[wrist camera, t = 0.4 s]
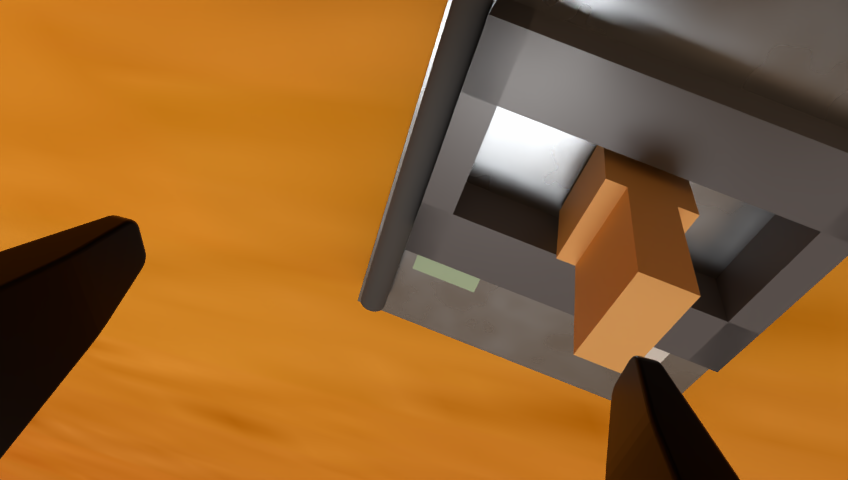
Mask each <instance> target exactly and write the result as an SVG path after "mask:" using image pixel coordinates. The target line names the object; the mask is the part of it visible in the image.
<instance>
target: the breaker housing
mask: <svg viewBox="0 0 848 480" xmlns="http://www.w3.org/2000/svg"><path fill="white" fill-rule="evenodd" d="M497 106H498V107H501V108H503V109H506V110H508V111H511V112H513V113H516V114H519V115H521V116H524V117H526V118H529V119H532V120H534V121H537V122H539V123H542V124H544V125H547V126H550V127H552V128H555V129H557V130H560V131H562V132H565V133H568V134H570V135H573V136H575V137H578V138H580V139H583V140H586V141H588V142H591V143H593V144H596V145H598V146H601V147H604V148H606V149H609V150H611V151H614V152H616V153H619V154H622V155H624V156H627V157H629V158H632V159H635V160H637V161H640V162H642V163H645V164H647V165H650V166H653V167H655V168H658V169H660V170H663V171H665V172H668V173H671V174H673V175H676V176H678V177H681V178H683V179H686V180H689V181H691V182H694V183H696V184H699V185H701V186H704V187H707V188H709V189H712V190H714V191H717V192H720V193H722V194H725V195H727V196H730V197H732V198H735V199H738V200H740V201H743V202H745V203H748V204H750V205H753V206H756V207H758V208H761V209H763V210H766V211H768V212H771V213H774V214H775V215H774V216H773V217H772V218H771V220H770V221H769V222H768V223H767V224H766V225H765V226H764V227H763V228H762V229H761V230H760V231H759V232H758V234H757V235H756V236H755V237H754V238H753V239H752V240H751V241H750V242H749V243H748V244H747V245H746V246H745V248H744V249H743V250H742V251H741V252H740V253H739V254H738V255H737V256H736V257H735V258H734V259H733V260H732V262H731V263H730V264H729V265H728V266H727V267H726V268H725V269H724V270H723V271H722V272H721V273H720V274H719V276H718V277H717V278H716V279H714V278H712V277H709V276H706V275H704V274H701V273H699V272H696V271H694V272H695V276H696V280H697V283H698V287H699V291H700V295H701V296H700V298H699V299H698V300H697V301H696V302H695V303H694V304H693V305H692V306H691V307H690V308H689V309H688V310H687V312H686V313H685V314H684V315H683V316H682V317H681V318H680V319H679V320H678V321H677V322H676V323H675V324H674V325H673V327H672V328H671V329H670V330H669V331H668V332H667V333H666V334H665V335H664V336H663V337H662V338H661V339H660V340H659V342H658V343H657V344H656V345H655V346H654V347H653V348H652V349H651V350H650V351H649V352H648V353H647V354H646V355H645V358H649V359H653V360H656V361H658V362H660V363H661V362H662V361H663V360H664V359H665V358H666V357H667V356H668V355H669V354H672V355H675V356H678V357H680V358H683V359H685V360H688V361H690V362H693V363H695V364H698V365H701V366H703V367H706V368H708V369H711V370H713V371H716V372H718V371H719V370H720V369H721V368H723V367H724V366H725V365H726V364H727V363H728V362H729V361H730V360H732V359H733V358H734V357H735V356H736V355H737V354H738V353H739V352H740V351H742V350H743V349H744V348H745V347H746V346H747V345H748V344H749V343H751V342H752V341H753V340H754V339H755V338H756V337H757V336H758V335H759V334H761V333H762V332H763V331H764V330H765V329H766V328H767V327H768V326H770V325H771V324H772V323H773V322H774V321H775V320H776V319H777V318H779V317H780V316H781V315H782V314H783V313H784V312H785V311H786V310H787V309H789V308H790V307H791V306H792V305H793V304H794V303H795V302H796V301H798V300H799V299H800V298H801V297H802V296H803V295H804V294H805V293H806V292H808V291H809V290H810V289H811V288H812V287H813V286H814V285H815V284H817V283H818V282H819V281H820V280H821V279H822V278H823V277H824V276H826V275H827V274H828V273H829V272H830V271H831V270H832V269H833V268H834V267H836V266H837V265H838V264H839V263H840V262H841V261H842V260H843V259H845V258H846V257H847V256H848V129H845V128H843V127H840V126H837V125H835V124H832V123H830V122H827V121H824V120H822V119H819V118H817V117H814V116H811V115H809V114H806V113H804V112H801V111H798V110H796V109H793V108H791V107H788V106H786V105H783V104H780V103H778V102H775V101H773V100H770V99H767V98H765V97H762V96H760V95H757V94H754V93H752V92H749V91H747V90H744V89H741V88H739V87H736V86H734V85H731V84H728V83H726V82H723V81H721V80H718V79H716V78H713V77H710V76H708V75H705V74H703V73H700V72H697V71H695V70H692V69H690V68H687V67H684V66H682V65H679V64H677V63H674V62H671V61H669V60H666V59H664V58H661V57H659V56H656V55H653V54H651V53H648V52H646V51H643V50H640V49H638V48H635V47H633V46H630V45H627V44H625V43H622V42H620V41H617V40H614V39H612V38H609V37H607V36H604V35H602V34H599V33H596V32H594V31H591V30H589V29H586V28H583V27H581V26H578V25H576V24H573V23H570V22H568V21H565V20H563V19H560V18H557V17H555V16H552V15H550V14H547V13H544V12H542V11H539V10H537V9H534V8H532V7H529V6H526V5H524V4H521V3H519V2H516V1H513V0H496V2H495V4H494V6H493V8H492V9H491V11H490V13H489V15H488V18H487V20H486V23H485V26H484V29H483V32H482V34H481V37H480V40H479V43H478V46H477V48H476V51H475V54H474V57H473V60H472V62H471V65H470V68H469V71H468V74H467V77H466V79H465V82H464V85H463V88H462V91H461V93H460V96H459V99H458V102H457V105H456V107H455V110H454V113H453V116H452V119H451V122H450V124H449V127H448V130H447V133H446V136H445V138H444V141H443V144H442V147H441V150H440V152H439V155H438V158H437V161H436V164H435V166H434V169H433V172H432V175H431V178H430V181H429V183H428V186H427V189H426V192H425V195H424V197H423V200H422V203H421V206H420V209H419V211H418V214H417V217H416V220H415V223H414V226H413V228H412V231H411V234H410V237H409V240H408V242H407V245H406V248H405V250H407V251H410V252H412V253H415V254H417V258H416V260H415V263H414V266H413V269H415V270H418V271H420V272H423V273H425V274H428V275H431V276H433V277H436V278H438V279H441V280H443V281H446V282H448V283H451V284H453V285H456V286H459V287H461V288H464V289H466V290H469V291H471V292H474V291H475V289H476V287H477V285H478V283H479V281H480V279H481V280H484V281H486V282H489V283H491V284H494V285H497V286H499V287H502V288H504V289H507V290H509V291H512V292H514V293H517V294H519V295H522V296H525V297H527V298H530V299H532V300H535V301H537V302H540V303H542V304H545V305H548V306H550V307H553V308H555V309H558V310H560V311H563V312H565V313H568V314H570V315H573V316H574V307H575V266H574V265H572V264H569V263H567V262H564V261H562V260H559V259H557V258H556V254H557V239H558V225H559V218H558V217H555V216H553V215H550V214H548V213H545V212H542V211H540V210H537V209H535V208H532V207H530V206H527V205H524V204H522V203H519V202H517V201H514V200H512V199H509V198H507V197H504V196H501V195H499V194H496V193H494V192H491V191H489V190H486V189H483V188H481V187H478V186H476V185H473V184H471V183H468V182H466V181H467V179H468V176H469V174H470V171H471V169H472V166H473V164H474V162H475V159H476V157H477V154H478V152H479V150H480V147H481V145H482V142H483V140H484V137H485V135H486V133H487V130H488V128H489V125H490V123H491V120H492V118H493V116H494V113H495V111H496V108H497Z"/></svg>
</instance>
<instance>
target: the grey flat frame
mask: <svg viewBox="0 0 848 480" xmlns="http://www.w3.org/2000/svg"><path fill="white" fill-rule="evenodd" d="M492 2H493V0H452V3H451V6H450V9H449V13H448V16H447V19H446V22H445V26H444V29H443V32H442V35H441V39H440V42H439V45H438V48H437V52H436V55H435V58H434V62H433V65H432V68H431V71H430V75H429V78H428V81H427V84H426V88H425V91H424V94H423V97H422V101H421V104H420V107H419V110H418V114H417V117H416V120H415V124H414V127H413V130H412V133H411V137H410V140H409V143H408V146H407V150H406V153H405V156H404V159H403V163H402V166H401V169H400V173H399V176H398V179H397V182H396V186H395V189H394V192H393V195H392V199H391V202H390V205H389V208H388V212H387V215H386V218H385V221H384V225H383V228H382V231H381V235H380V238H379V241H378V244H377V248H376V251H375V254H374V257H373V261H372V264H371V267H370V270H369V274H368V277H367V280H366V283H365V287H364V290H363V293H362V297H361V304H362V305H363V307H364V308H366V309H367V310H370V311H380V310H382V309H383V308H384V306H385V304H386V301H387V298H388V295H389V292H390V290H391V287H392V284H393V281H394V278H395V275H396V273H397V270H398V267H399V264H400V261H401V259H402V256H403V253H404V250H405V247H406V245H407V242H408V239H409V236H410V233H411V230H412V228H413V225H414V222H415V219H416V216H417V214H418V211H419V208H420V205H421V202H422V199H423V197H424V194H425V191H426V188H427V185H428V183H429V180H430V177H431V174H432V171H433V169H434V166H435V163H436V160H437V157H438V154H439V152H440V149H441V146H442V143H443V140H444V138H445V135H446V132H447V129H448V126H449V123H450V121H451V118H452V115H453V112H454V109H455V107H456V104H457V101H458V98H459V95H460V93H461V90H462V87H463V84H464V81H465V78H466V76H467V73H468V70H469V67H470V64H471V62H472V59H473V56H474V53H475V50H476V48H477V45H478V42H479V39H480V36H481V33H482V31H483V28H484V25H485V22H486V19H487V17H488V14H489V11H490V8H491V5H492Z"/></svg>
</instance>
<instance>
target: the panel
mask: <svg viewBox="0 0 848 480" xmlns="http://www.w3.org/2000/svg"><path fill="white" fill-rule="evenodd" d="M513 1H516V2H519V3H521V4H524V5H526V6H529V7H532V8H534V9H537V10H539V11H542V12H544V13H547V14H550V15H552V16H555V17H557V18H560V19H563V20H565V21H568V22H570V23H573V24H576V25H578V26H581V27H583V28H586V29H589V30H591V31H594V32H596V33H599V34H602V35H604V36H607V37H609V38H612V39H614V40H617V41H620V42H622V43H625V44H627V45H630V46H633V47H635V48H638V49H640V50H643V51H646V52H648V53H651V54H653V55H656V56H659V57H661V58H664V59H666V60H669V61H671V62H674V63H677V64H679V65H682V66H684V67H687V68H690V69H692V70H695V71H697V72H700V73H703V74H705V75H708V76H710V77H713V78H716V79H718V80H721V81H723V82H726V83H728V84H731V85H734V86H736V87H739V88H741V89H744V90H747V91H749V92H752V93H754V94H757V95H760V96H762V97H765V98H767V99H770V100H773V101H775V102H778V103H780V104H783V105H786V106H788V107H791V108H793V109H796V110H798V111H801V112H804V113H806V114H809V115H811V116H814V117H817V118H819V119H822V120H824V121H827V122H830V123H832V124H835V125H837V126H840V127H843V128H845V129H848V0H513ZM495 2H496V0H493V2H492V5H491V8H490V11H491V9H492V8H493V6H494V4H495ZM451 3H452V0H448V3H447V6H446V10H445V13H444V16H443V19H442V23H441V26H440V29H439V33H438V36H437V39H436V43H435V46H434V49H433V53H432V56H431V59H430V63H429V66H428V69H427V73H426V76H425V79H424V82H423V86H422V89H421V92H420V96H419V99H418V102H417V106H416V109H415V112H414V116H413V119H412V122H411V126H410V129H409V132H408V136H407V139H406V142H405V145H404V149H403V152H402V155H401V159H400V162H399V165H398V169H397V172H396V175H395V179H394V182H393V185H392V189H391V192H390V195H389V198H388V202H387V205H386V208H385V212H384V215H383V218H382V222H381V225H380V228H379V232H378V235H377V238H376V242H375V245H374V248H373V252H372V255H371V258H370V261H369V265H368V268H367V271H366V275H365V278H364V281H363V285H362V288H361V291H360V295H359V298H358V301H360V302H361V297H362V293H363V290H364V287H365V283H366V280H367V277H368V274H369V270H370V267H371V264H372V261H373V257H374V254H375V251H376V248H377V244H378V241H379V238H380V235H381V231H382V228H383V225H384V221H385V218H386V215H387V212H388V208H389V205H390V202H391V199H392V195H393V192H394V189H395V186H396V182H397V179H398V176H399V173H400V169H401V166H402V163H403V159H404V156H405V153H406V150H407V146H408V143H409V140H410V137H411V133H412V130H413V127H414V124H415V120H416V117H417V114H418V110H419V107H420V104H421V101H422V97H423V94H424V91H425V88H426V84H427V81H428V78H429V75H430V71H431V68H432V65H433V62H434V58H435V55H436V52H437V48H438V45H439V42H440V39H441V35H442V32H443V29H444V26H445V22H446V19H447V16H448V13H449V9H450V6H451ZM490 11H489V13H490ZM488 15H489V14H488ZM487 18H488V17H487ZM486 20H487V19H486ZM485 23H486V22H485ZM484 26H485V25H484ZM483 29H484V28H483ZM482 32H483V31H482ZM481 34H482V33H481ZM480 37H481V36H480ZM479 40H480V39H479ZM478 43H479V42H478ZM477 46H478V45H477ZM475 51H476V50H475ZM474 54H475V53H474ZM473 57H474V56H473ZM472 60H473V59H472ZM470 65H471V64H470ZM469 68H470V67H469ZM468 71H469V70H468ZM467 74H468V73H467ZM466 77H467V76H466ZM465 79H466V78H465ZM464 82H465V81H464ZM463 85H464V84H463ZM462 88H463V87H462ZM461 91H462V90H461ZM459 96H460V95H459ZM458 99H459V98H458ZM457 102H458V101H457ZM456 105H457V104H456ZM454 110H455V109H454ZM453 113H454V112H453ZM452 116H453V115H452ZM451 119H452V118H451ZM450 122H451V121H450ZM449 124H450V123H449ZM448 127H449V126H448ZM447 130H448V129H447ZM446 133H447V132H446ZM445 136H446V135H445ZM443 141H444V140H443ZM442 144H443V143H442ZM441 147H442V146H441ZM596 147H597V145H596V144H593V143H591V142H588V141H586V140H583V139H580V138H578V137H575V136H573V135H570V134H568V133H565V132H562V131H560V130H557V129H555V128H552V127H550V126H547V125H544V124H542V123H539V122H537V121H534V120H532V119H529V118H526V117H524V116H521V115H519V114H516V113H513V112H511V111H508V110H506V109H503V108H501V107H498V106H497V108H496V111H495V113H494V116H493V118H492V120H491V123H490V125H489V128H488V130H487V133H486V135H485V137H484V140H483V142H482V145H481V147H480V150H479V152H478V154H477V157H476V159H475V162H474V164H473V166H472V169H471V171H470V174H469V176H468V179H467V181H466V182H468V183H471V184H473V185H476V186H478V187H481V188H483V189H486V190H489V191H491V192H494V193H496V194H499V195H501V196H504V197H507V198H509V199H512V200H514V201H517V202H519V203H522V204H524V205H527V206H530V207H532V208H535V209H537V210H540V211H542V212H545V213H548V214H550V215H553V216H555V217H558V218H559V211H560V209H561V207H562V205H563V204H564V202H565V200H566V198H567V197H568V195H569V193H570V192H571V190H572V188H573V186H574V185H575V183H576V181H577V180H578V178H579V176H580V174H581V173H582V171H583V169H584V167H585V166H586V164H587V162H588V161H589V159H590V157H591V155H592V154H593V152H594V150H595V148H596ZM440 150H441V149H440ZM438 155H439V154H438ZM437 158H438V157H437ZM436 161H437V160H436ZM435 164H436V163H435ZM432 172H433V171H432ZM431 175H432V174H431ZM430 178H431V177H430ZM429 181H430V180H429ZM689 183H690V186H691V189H692V192H693V195H694V199H695V202H696V205H697V208H698V211H699V217H698V218H697V219H696V220H695V222H694V223H693V224H692V225H691V226H690V228H689V229H688V230H687V231H686V233H685V237H686V241H687V245H688V249H689V252H690V256H691V260H692V264H693V268H694V271H696V272H699V273H701V274H704V275H706V276H709V277H712V278H714V279H716V278H717V277H718V276H719V274H720V273H721V272H722V271H723V270H724V269H725V268H726V267H727V266H728V265H729V264H730V263H731V262H732V260H733V259H734V258H735V257H736V256H737V255H738V254H739V253H740V252H741V251H742V250H743V249H744V248H745V246H746V245H747V244H748V243H749V242H750V241H751V240H752V239H753V238H754V237H755V236H756V235H757V234H758V232H759V231H760V230H761V229H762V228H763V227H764V226H765V225H766V224H767V223H768V222H769V221H770V220H771V218H772V217H773V216H774V215H775V214H774V213H771V212H768V211H766V210H763V209H761V208H758V207H756V206H753V205H750V204H748V203H745V202H743V201H740V200H738V199H735V198H732V197H730V196H727V195H725V194H722V193H720V192H717V191H714V190H712V189H709V188H707V187H704V186H701V185H699V184H696V183H694V182H691V181H689ZM427 186H428V185H427ZM426 189H427V188H426ZM425 192H426V191H425ZM424 195H425V194H424ZM422 200H423V199H422ZM421 203H422V202H421ZM420 206H421V205H420ZM419 209H420V208H419ZM416 217H417V216H416ZM415 220H416V219H415ZM414 223H415V222H414ZM413 226H414V225H413ZM411 231H412V230H411ZM410 234H411V233H410ZM409 237H410V236H409ZM408 240H409V239H408ZM405 248H406V247H405ZM416 258H417V254H415V253H412V252H410V251H407V250H404V253H403V256H402V259H401V261H400V264H399V267H398V270H397V273H396V275H395V278H394V281H393V284H392V287H391V290H390V292H389V295H388V298H387V301H386V304H385V306H384V308H383V309H382V310H383V311H385V312H388V313H390V314H393V315H395V316H398V317H400V318H403V319H405V320H408V321H410V322H413V323H416V324H418V325H421V326H423V327H426V328H428V329H431V330H433V331H436V332H438V333H441V334H444V335H446V336H449V337H451V338H454V339H456V340H459V341H461V342H464V343H466V344H469V345H471V346H474V347H477V348H479V349H482V350H484V351H487V352H489V353H492V354H494V355H497V356H499V357H502V358H504V359H507V360H510V361H512V362H515V363H517V364H520V365H522V366H525V367H527V368H530V369H532V370H535V371H538V372H540V373H543V374H545V375H548V376H550V377H553V378H555V379H558V380H560V381H563V382H565V383H568V384H571V385H573V386H576V387H578V388H581V389H583V390H586V391H588V392H591V393H593V394H596V395H598V396H601V397H604V398H606V399H609V400H611V398H612V392H613V388H614V385H615V383H616V382H617V380H618V378H619V377H620V375H621V373H619V372H616V371H614V370H611V369H608V368H606V367H603V366H601V365H598V364H596V363H593V362H591V361H588V360H586V359H583V358H581V357H578V356H575V355H573V353H574V316H573V315H570V314H568V313H565V312H563V311H560V310H558V309H555V308H553V307H550V306H548V305H545V304H542V303H540V302H537V301H535V300H532V299H530V298H527V297H525V296H522V295H519V294H517V293H514V292H512V291H509V290H507V289H504V288H502V287H499V286H497V285H494V284H491V283H489V282H486V281H484V280H481V279H480V281H479V283H478V285H477V287H476V289H475V291H474V292H471V291H469V290H466V289H464V288H461V287H459V286H456V285H453V284H451V283H448V282H446V281H443V280H441V279H438V278H436V277H433V276H431V275H428V274H425V273H423V272H420V271H418V270H415V269H413V266H414V263H415V260H416ZM661 364H662V365H663V367H664V368H665V370H666V371H667V373H668V374H669V376H670V377H671V379H672V380H673V382H674V383H675V384H676V386H677V387H678V389H679V390H680V392H681V393H683V392H684V391H685V390H686V389H687V388H688V387H689V386H691V385H692V384H693V383H694V382H695V381H696V380H697V379H698V378H699V377H700V376H701V375H703V374H704V373H705V372H706V371H707V370H708V368H706V367H703V366H701V365H698V364H695V363H693V362H690V361H688V360H685V359H683V358H680V357H678V356H675V355H672V354H669V355H668V356H667V357H666V358H665V359H664V360H663V361H662V362H661Z"/></svg>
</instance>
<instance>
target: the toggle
mask: <svg viewBox="0 0 848 480" xmlns="http://www.w3.org/2000/svg"><path fill="white" fill-rule="evenodd" d="M698 217H699V211H698V208H697V205H696V202H695V199H694V195H693V192H692V189H691V186H690V183H689V180H686V179H683V178H681V177H678V176H676V175H673V174H671V173H668V172H665V171H663V170H660V169H658V168H655V167H653V166H650V165H647V164H645V163H642V162H640V161H637V160H635V159H632V158H629V157H627V156H624V155H622V154H619V153H616V152H614V151H611V150H609V149H606V148H604V147H601V146H598V145H597V147H596V148H595V150H594V152H593V154H592V155H591V157H590V159H589V161H588V162H587V164H586V166H585V167H584V169H583V171H582V173H581V174H580V176H579V178H578V180H577V181H576V183H575V185H574V186H573V188H572V190H571V192H570V193H569V195H568V197H567V198H566V200H565V202H564V204H563V205H562V207H561V209H560V211H559V225H558V239H557V254H556V258H557V259H559V260H562V261H564V262H567V263H569V264H572V265H574V266H575V307H574V353H573V355H575V356H578V357H581V358H583V359H586V360H588V361H591V362H593V363H596V364H598V365H601V366H603V367H606V368H608V369H611V370H614V371H616V372H619V373H622V372H623V370H624V368H625V367H626V365H627V363H628V362H629V360H630V359H631V358H632V357H633V356H642V357H645V355H646V354H647V353H648V352H649V351H650V350H651V349H652V348H653V347H654V346H655V345H656V344H657V343H658V342H659V340H660V339H661V338H662V337H663V336H664V335H665V334H666V333H667V332H668V331H669V330H670V329H671V328H672V327H673V325H674V324H675V323H676V322H677V321H678V320H679V319H680V318H681V317H682V316H683V315H684V314H685V313H686V312H687V310H688V309H689V308H690V307H691V306H692V305H693V304H694V303H695V302H696V301H697V300H698V299H699V298H700V296H701V295H700V291H699V287H698V283H697V280H696V276H695V272H694V268H693V264H692V260H691V256H690V252H689V249H688V245H687V241H686V237H685V233H686V231H687V230H688V229H689V228H690V226H691V225H692V224H693V223H694V222H695V220H696V219H697V218H698Z"/></svg>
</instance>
